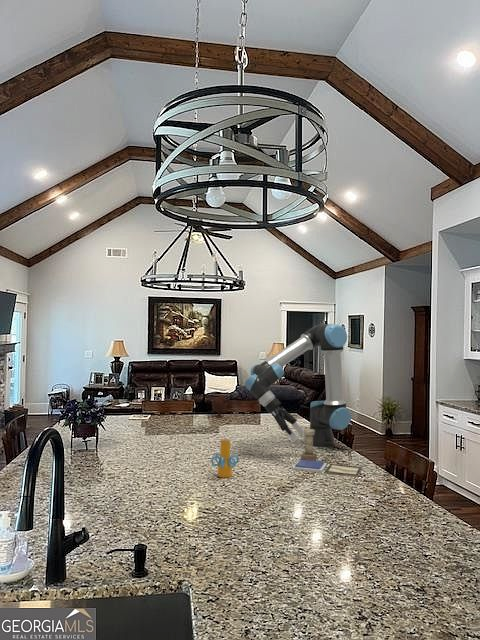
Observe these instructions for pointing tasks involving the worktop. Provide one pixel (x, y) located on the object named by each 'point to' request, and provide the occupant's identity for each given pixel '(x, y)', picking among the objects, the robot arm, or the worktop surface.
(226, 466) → the orange post with loops
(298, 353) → the robot arm
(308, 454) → the stamp
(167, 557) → the worktop surface
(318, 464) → the ink pad
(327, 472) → the marked board
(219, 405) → the ice cream bowl
